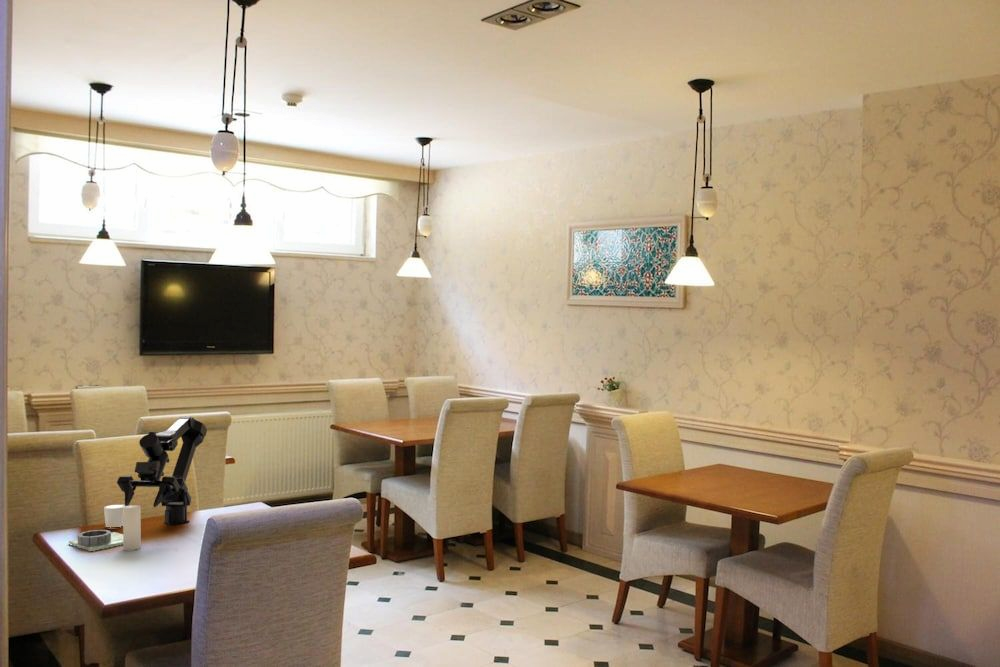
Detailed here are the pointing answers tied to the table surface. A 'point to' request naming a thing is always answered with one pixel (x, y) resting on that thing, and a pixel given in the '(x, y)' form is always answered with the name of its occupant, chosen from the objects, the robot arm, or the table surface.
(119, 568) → the table surface
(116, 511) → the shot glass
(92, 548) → the grey ring base plate
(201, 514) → the table surface
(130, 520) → the post
